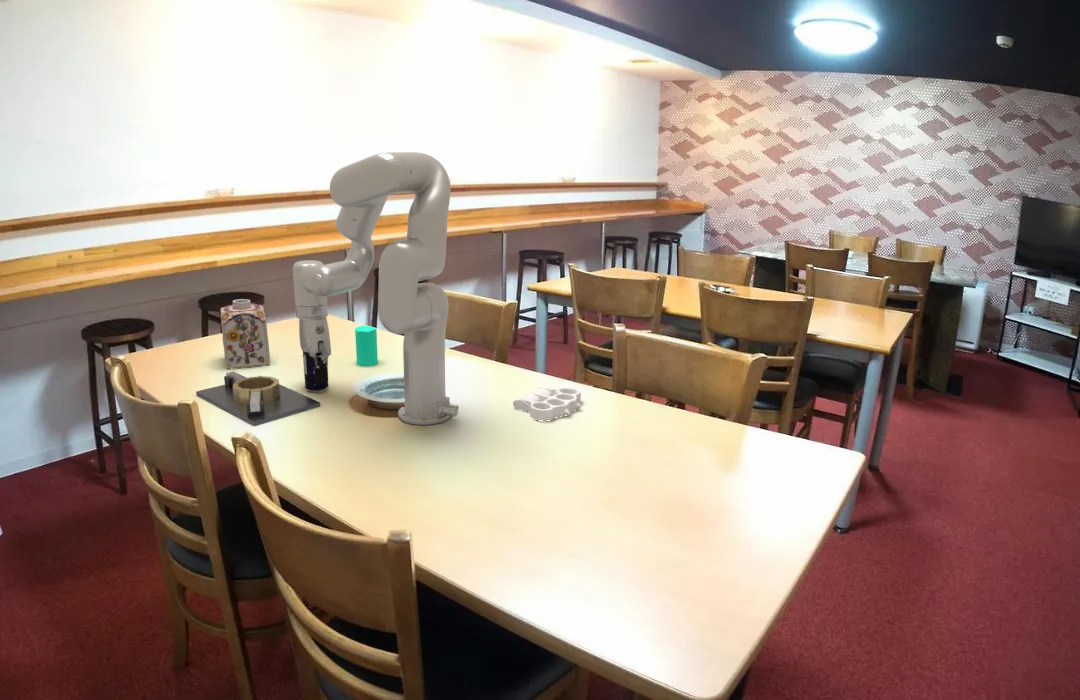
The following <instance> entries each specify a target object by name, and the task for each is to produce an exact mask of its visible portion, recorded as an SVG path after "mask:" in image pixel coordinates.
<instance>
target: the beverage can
mask: <svg viewBox="0 0 1080 700" xmlns="http://www.w3.org/2000/svg"><path fill="white" fill-rule="evenodd" d="M318 355H321V354H320V353H319V354H316V356H318ZM302 359H303V362H304V363H303V375H304V387H305V389H306V390H308V392H309V393H315V394H316V393H322V392H324V391H326V389H328V388H329V380H328V381H327V382H323V383H316V382H315V371H314V368H316V366H315V362H314V358H313V357H311V356H309V353H308V351H307V349H306V347H305V346H304V349H303V351H302ZM320 359H321V358H319V359H318V363H319V360H320Z"/></svg>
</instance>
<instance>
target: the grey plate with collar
mask: <svg viewBox="0 0 1080 700" xmlns="http://www.w3.org/2000/svg"><path fill="white" fill-rule="evenodd" d="M223 379H224V384H221V385H217V386H212V387H209V388H204V389H201V390H197V391H195V393H196V397H199V398H201V399H203V400H205V401H206V402H209V403H211V404H213V405H214V406H216V407H218V408H220V409H221V410H223V411H225V412H227V413H229V414H230V415H233V416H234V417H236V418H238V419H241V420H242V421H244V422H246V423H248V424H250V425H251V426H253V427H255V426H258V425H263V424H265V423H269V422H273V421H275V420H279V419H282V418H285V417H288V416H292V414H293V415H296V414H299V413H301V412H302V411H303V412H305V411H309V409H310V410H313V409H315V408H319V407H321V406H322V405H321V402H320V401H318V400H316V399H315V398H312V397H309V396H307V395H304V394H303V393H301V392H298V391H296V390H293V389H291V388H289V387H287V386H284V385H282V384H280V379H278V378H277V377H276V378H275V377H274V376H267V375H266V376H265V375H264V376H263V375H259V376H249V377H247V376H244V375H242V374H241V373H238V372H236V371H234V370H233V371H229V372H226V373H225V375H224V376H223ZM272 420H273V421H272Z"/></svg>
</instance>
